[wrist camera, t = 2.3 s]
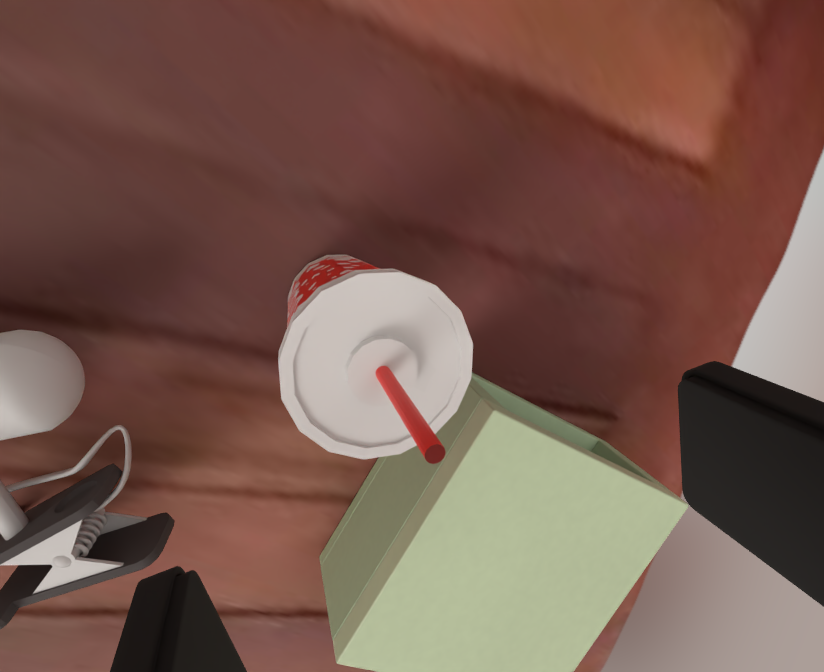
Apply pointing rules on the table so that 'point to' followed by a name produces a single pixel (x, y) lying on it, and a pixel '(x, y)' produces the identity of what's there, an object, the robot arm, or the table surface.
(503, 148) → the table surface
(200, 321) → the table surface
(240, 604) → the table surface
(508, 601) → the stand
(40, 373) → the clip-on lamp
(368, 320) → the beverage cup
